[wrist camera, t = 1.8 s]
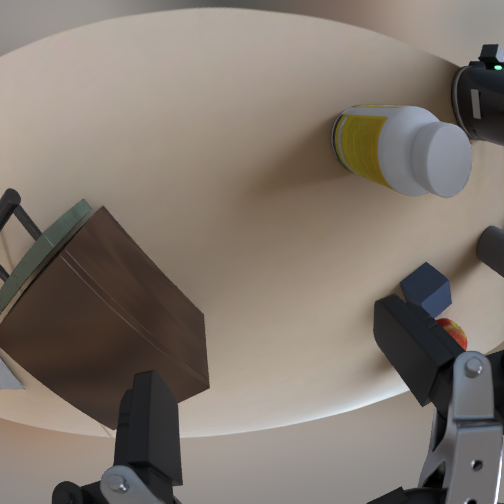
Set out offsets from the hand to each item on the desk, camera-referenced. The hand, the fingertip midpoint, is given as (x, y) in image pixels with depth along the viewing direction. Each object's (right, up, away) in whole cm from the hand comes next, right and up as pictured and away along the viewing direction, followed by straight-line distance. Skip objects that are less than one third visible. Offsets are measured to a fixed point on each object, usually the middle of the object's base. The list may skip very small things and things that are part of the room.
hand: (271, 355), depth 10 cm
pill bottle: (+9, +14, +15) cm, 22 cm away
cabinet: (-15, -1, +17) cm, 22 cm away
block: (+21, -1, +24) cm, 31 cm away
